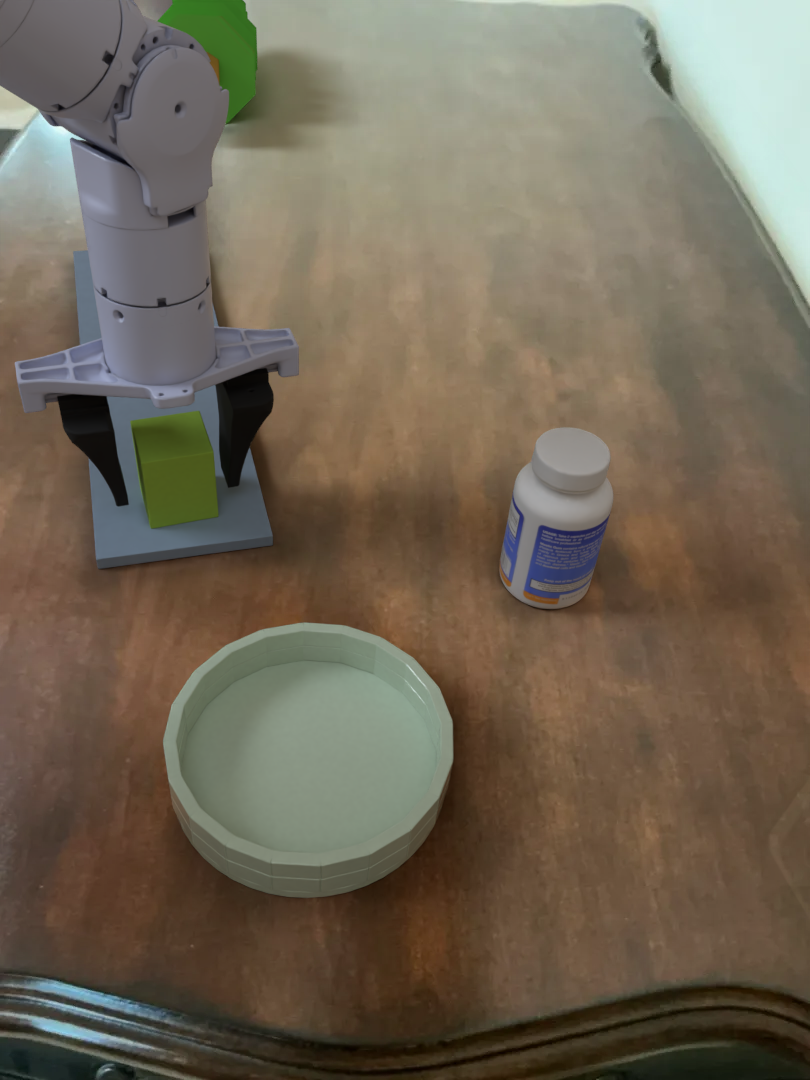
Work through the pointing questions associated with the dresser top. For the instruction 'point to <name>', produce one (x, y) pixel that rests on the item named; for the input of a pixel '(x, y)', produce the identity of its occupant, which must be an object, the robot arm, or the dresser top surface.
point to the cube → (175, 468)
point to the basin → (308, 759)
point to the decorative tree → (221, 43)
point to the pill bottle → (557, 519)
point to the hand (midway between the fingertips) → (176, 485)
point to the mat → (128, 527)
